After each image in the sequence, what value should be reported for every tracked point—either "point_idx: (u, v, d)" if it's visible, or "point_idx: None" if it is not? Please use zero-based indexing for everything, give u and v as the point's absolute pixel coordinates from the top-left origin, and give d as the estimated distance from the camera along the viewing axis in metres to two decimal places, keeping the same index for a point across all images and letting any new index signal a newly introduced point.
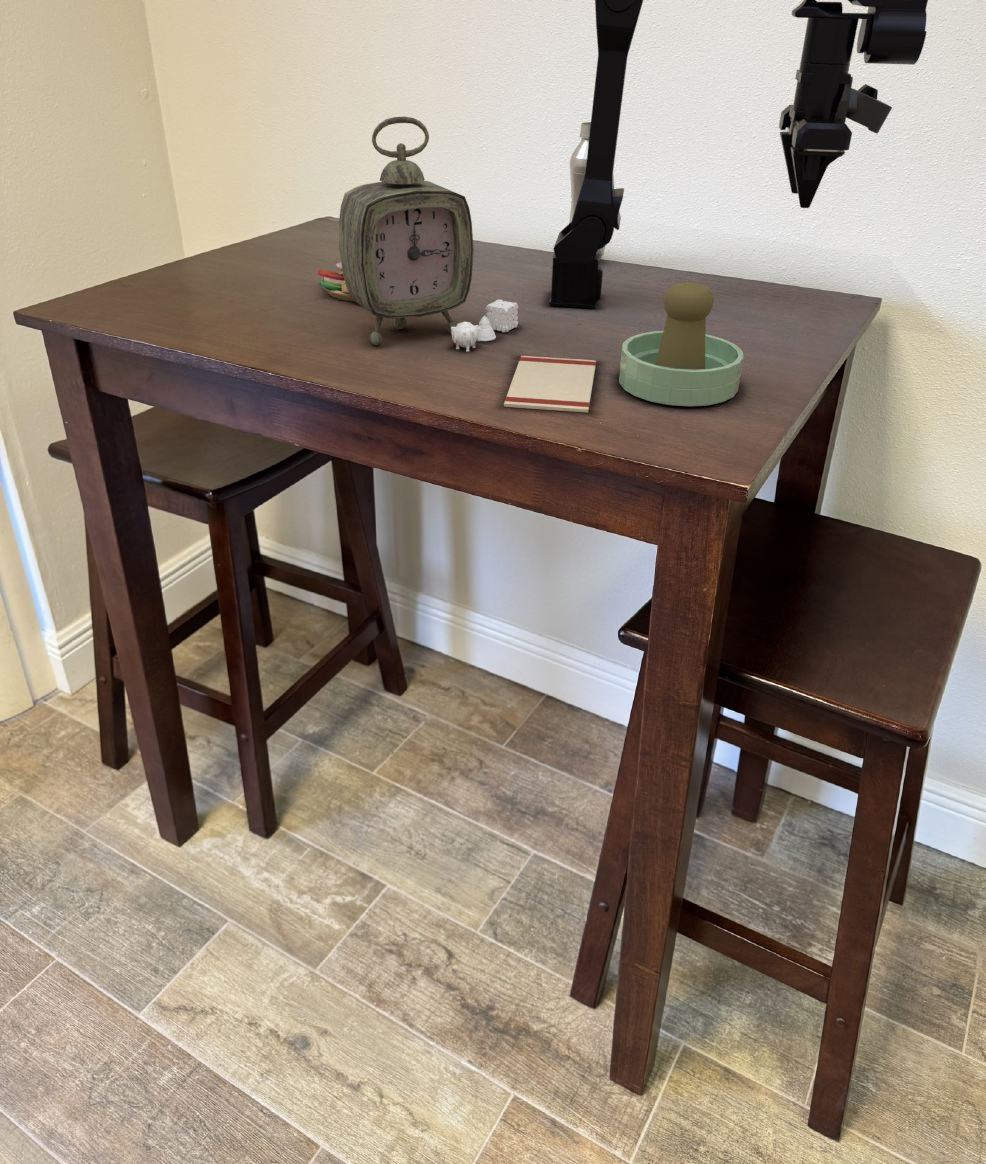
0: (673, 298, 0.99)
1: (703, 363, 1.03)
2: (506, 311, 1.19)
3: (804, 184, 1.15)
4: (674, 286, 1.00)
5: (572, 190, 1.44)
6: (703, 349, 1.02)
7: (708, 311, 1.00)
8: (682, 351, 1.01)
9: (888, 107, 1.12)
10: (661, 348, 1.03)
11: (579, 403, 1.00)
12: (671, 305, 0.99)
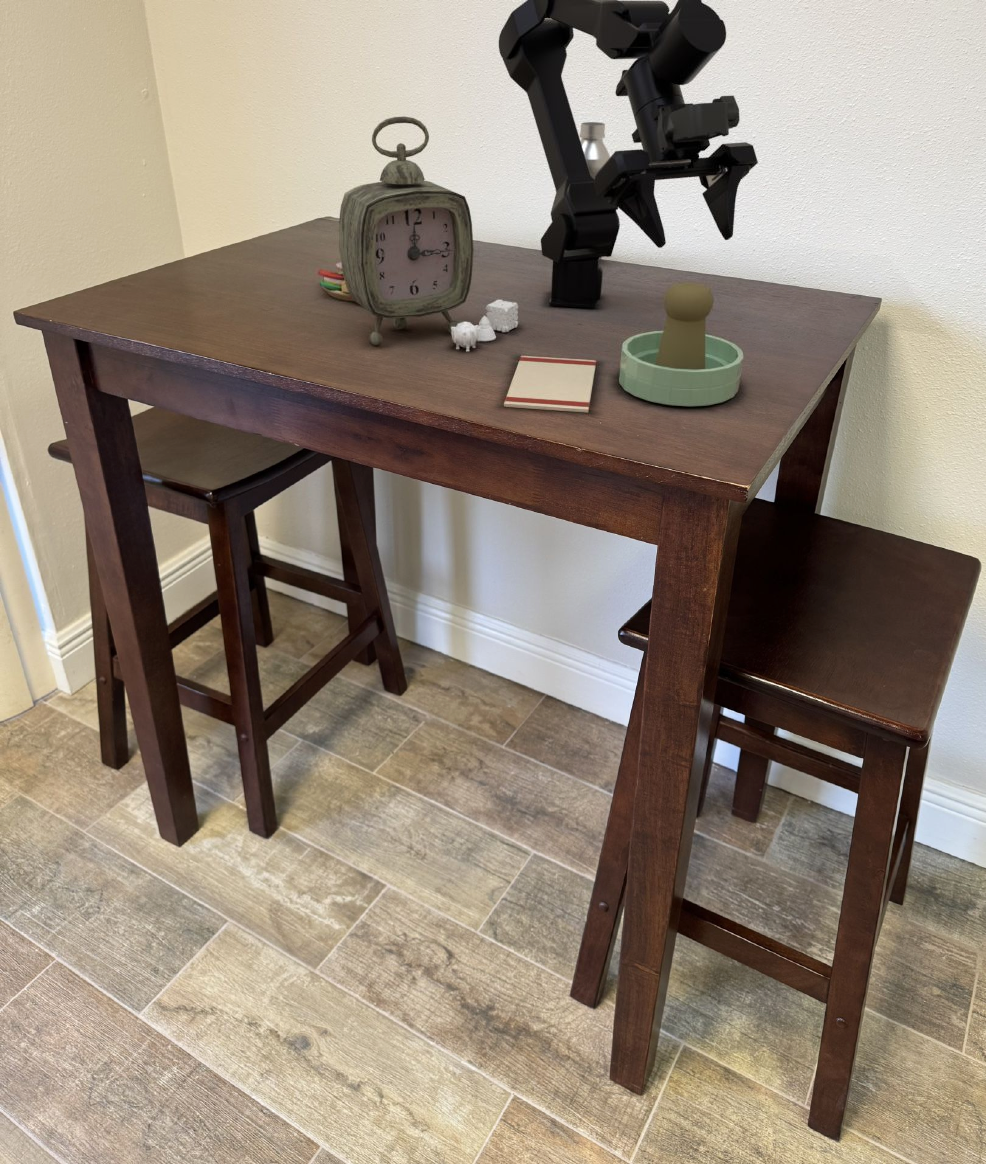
0: (673, 298, 0.99)
1: (703, 363, 1.03)
2: (506, 311, 1.19)
3: (646, 225, 1.04)
4: (674, 286, 1.00)
5: None
6: (703, 349, 1.02)
7: (708, 311, 1.00)
8: (682, 351, 1.01)
9: (691, 106, 0.98)
10: (661, 348, 1.03)
11: (579, 403, 1.00)
12: (671, 305, 0.99)
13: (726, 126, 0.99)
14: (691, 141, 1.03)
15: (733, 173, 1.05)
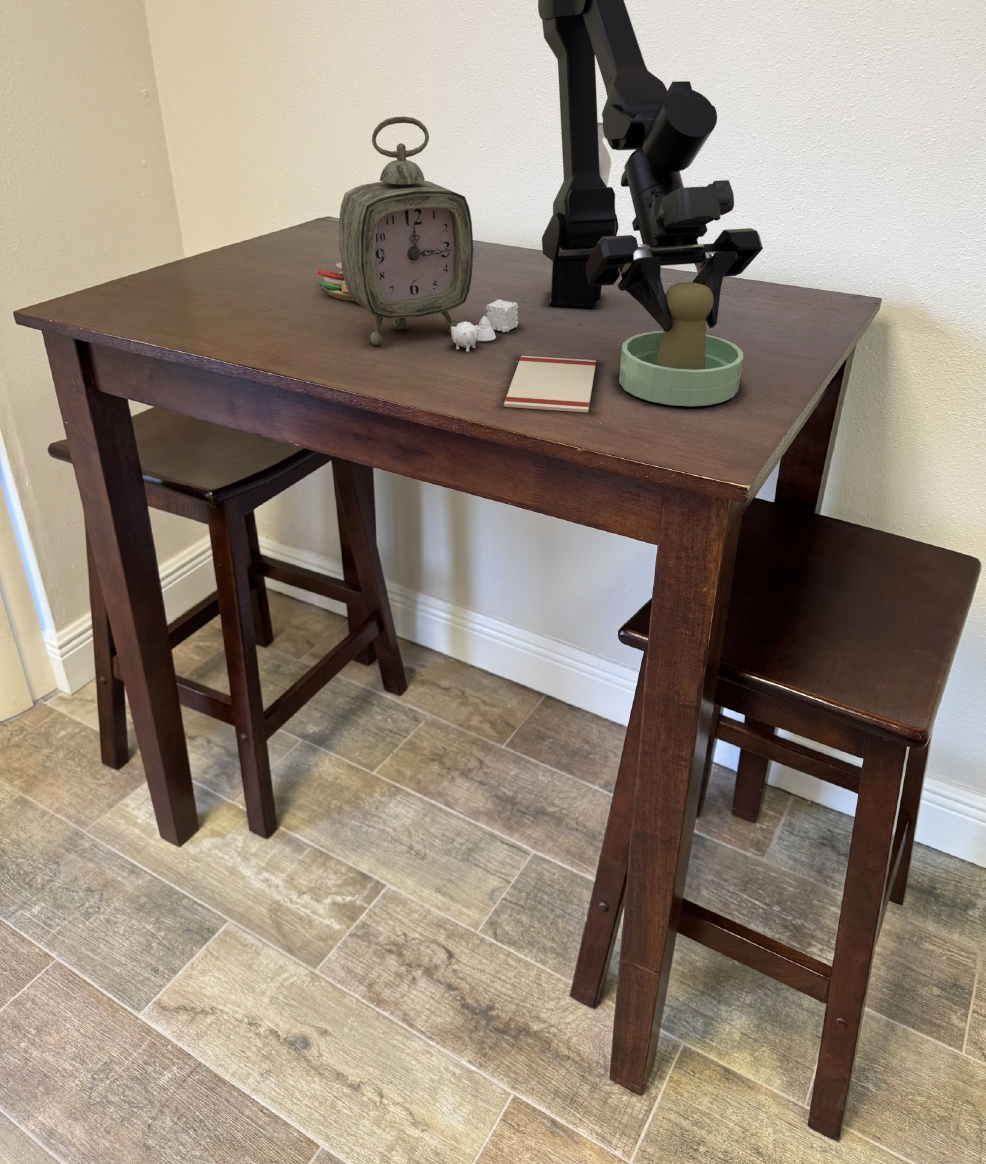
0: (674, 298, 0.99)
1: (703, 363, 1.03)
2: (506, 311, 1.19)
3: (653, 309, 1.01)
4: (674, 286, 1.00)
5: None
6: (703, 349, 1.02)
7: (708, 311, 1.00)
8: (682, 351, 1.01)
9: (677, 190, 0.95)
10: (661, 348, 1.03)
11: (579, 403, 1.00)
12: (671, 305, 0.99)
13: (716, 210, 0.96)
14: (686, 227, 1.00)
15: (717, 260, 1.00)
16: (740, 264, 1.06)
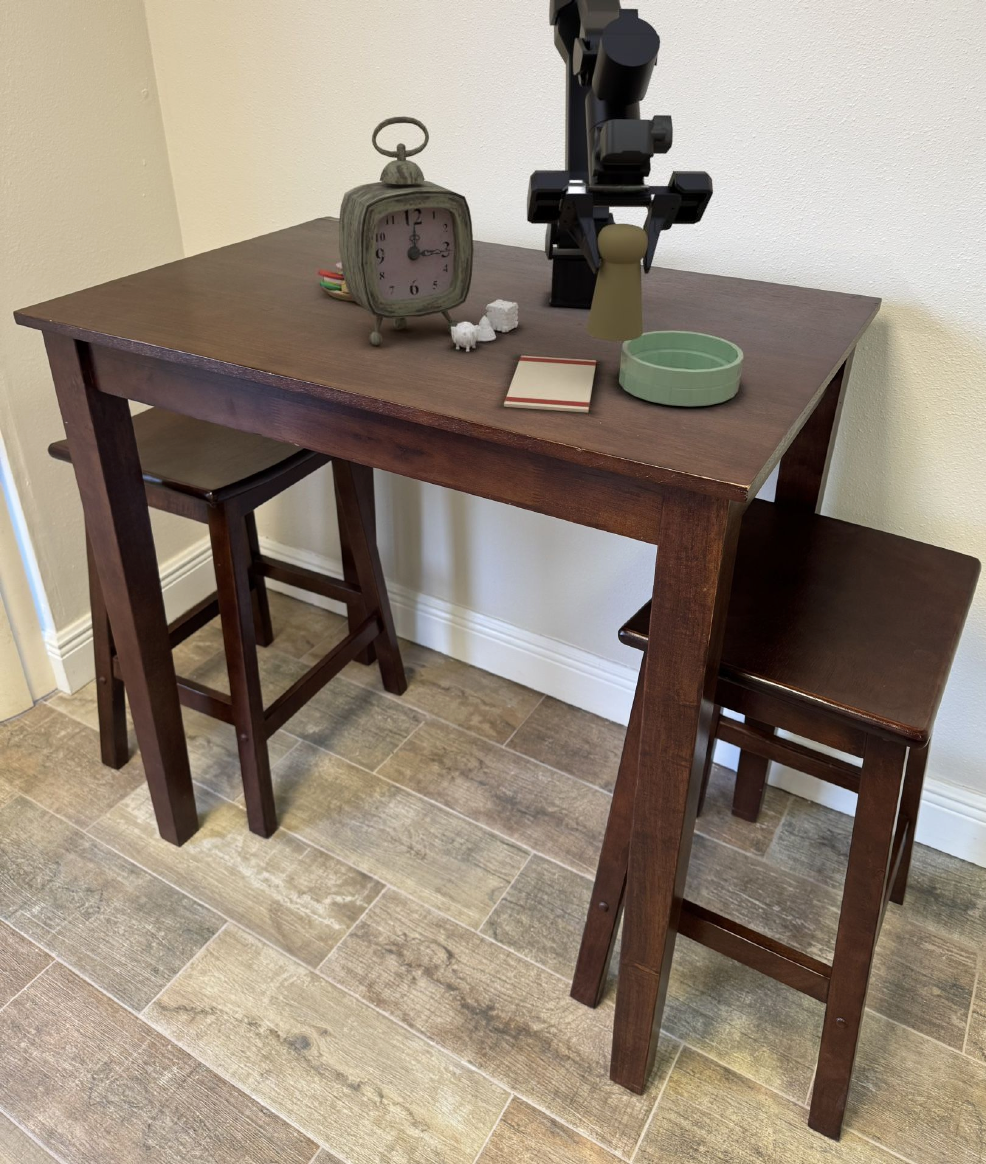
0: (602, 237, 0.95)
1: (636, 311, 0.98)
2: (506, 311, 1.19)
3: (586, 250, 0.97)
4: (607, 226, 0.96)
5: None
6: (636, 295, 0.97)
7: (638, 254, 0.95)
8: (610, 296, 0.97)
9: (606, 122, 0.91)
10: (594, 292, 0.99)
11: (579, 403, 1.00)
12: (600, 246, 0.95)
13: (648, 145, 0.91)
14: (627, 165, 0.95)
15: (657, 201, 0.95)
16: (697, 211, 1.00)
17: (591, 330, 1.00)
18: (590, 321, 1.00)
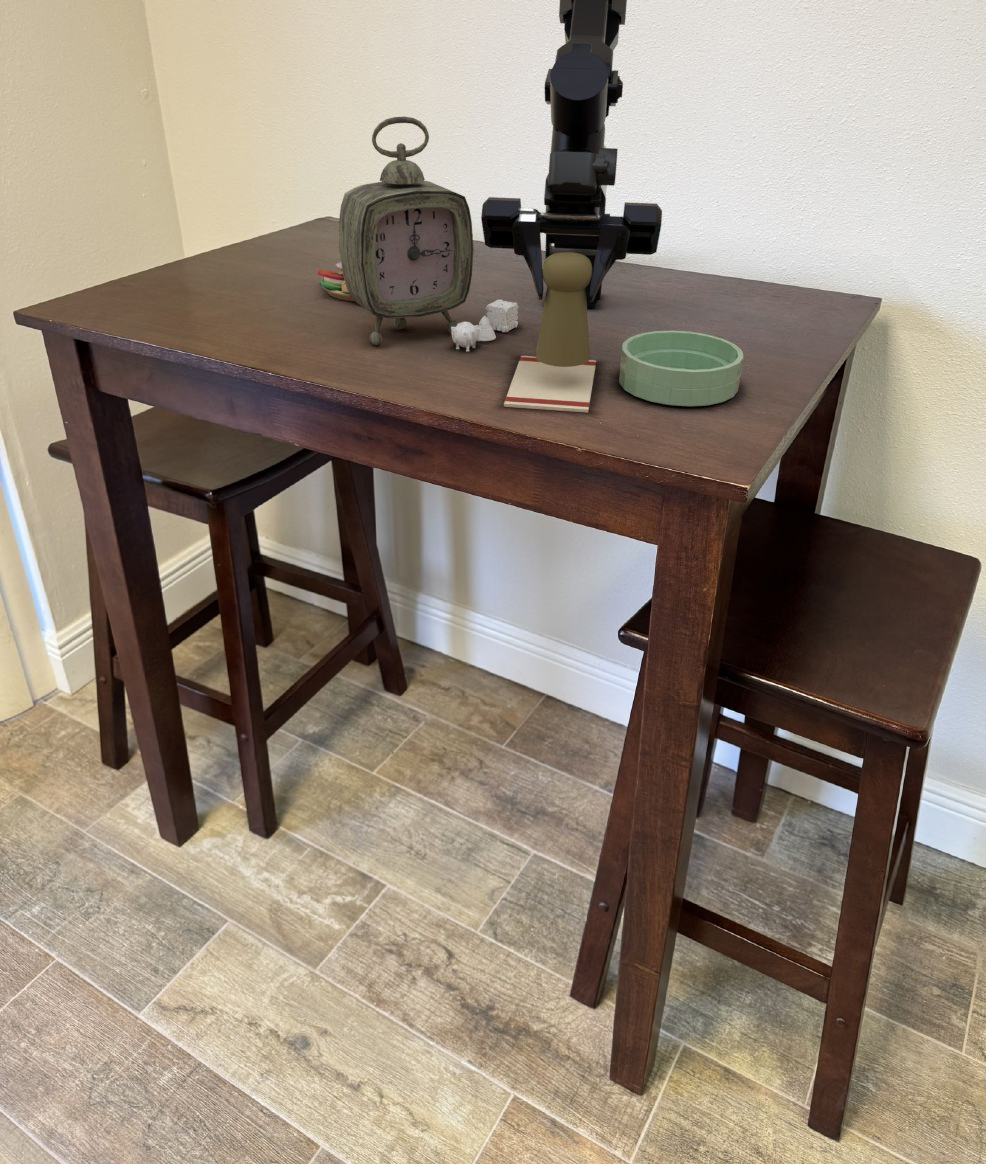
0: (545, 265, 0.97)
1: (579, 338, 1.00)
2: (506, 311, 1.19)
3: None
4: (553, 254, 0.98)
5: None
6: (578, 323, 0.99)
7: (579, 283, 0.96)
8: (553, 322, 0.99)
9: (550, 154, 0.93)
10: None
11: (579, 403, 1.00)
12: (543, 273, 0.97)
13: (588, 177, 0.92)
14: (577, 195, 0.97)
15: (604, 232, 0.97)
16: None
17: (537, 354, 1.02)
18: (537, 345, 1.02)
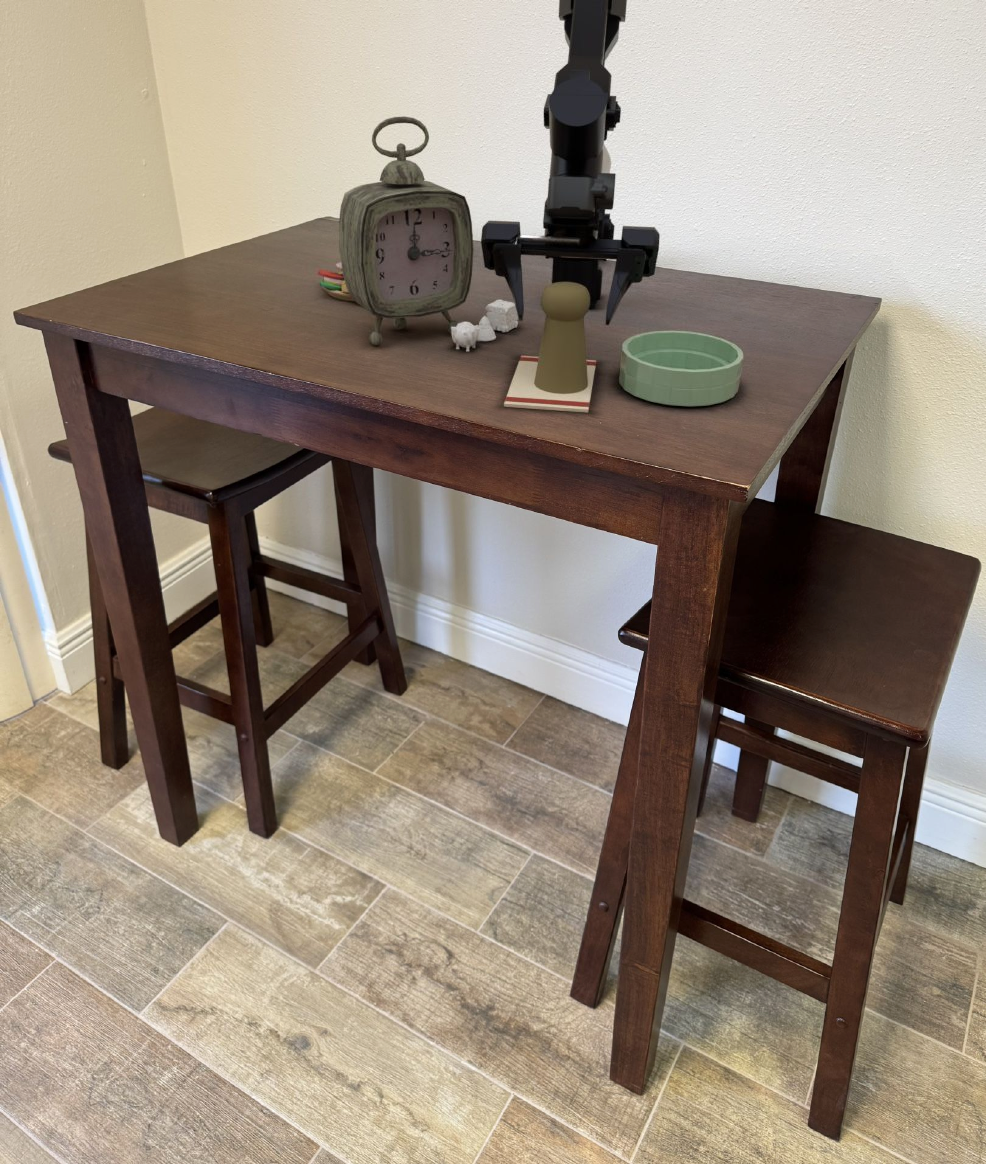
0: (544, 295, 0.99)
1: (577, 366, 1.02)
2: (506, 311, 1.19)
3: None
4: (551, 284, 1.00)
5: None
6: (577, 351, 1.01)
7: (577, 312, 0.98)
8: (551, 350, 1.01)
9: (549, 179, 0.94)
10: None
11: (579, 403, 1.00)
12: (542, 302, 0.99)
13: (587, 202, 0.93)
14: (576, 218, 0.98)
15: (621, 256, 0.98)
16: None
17: (536, 381, 1.04)
18: (536, 372, 1.04)
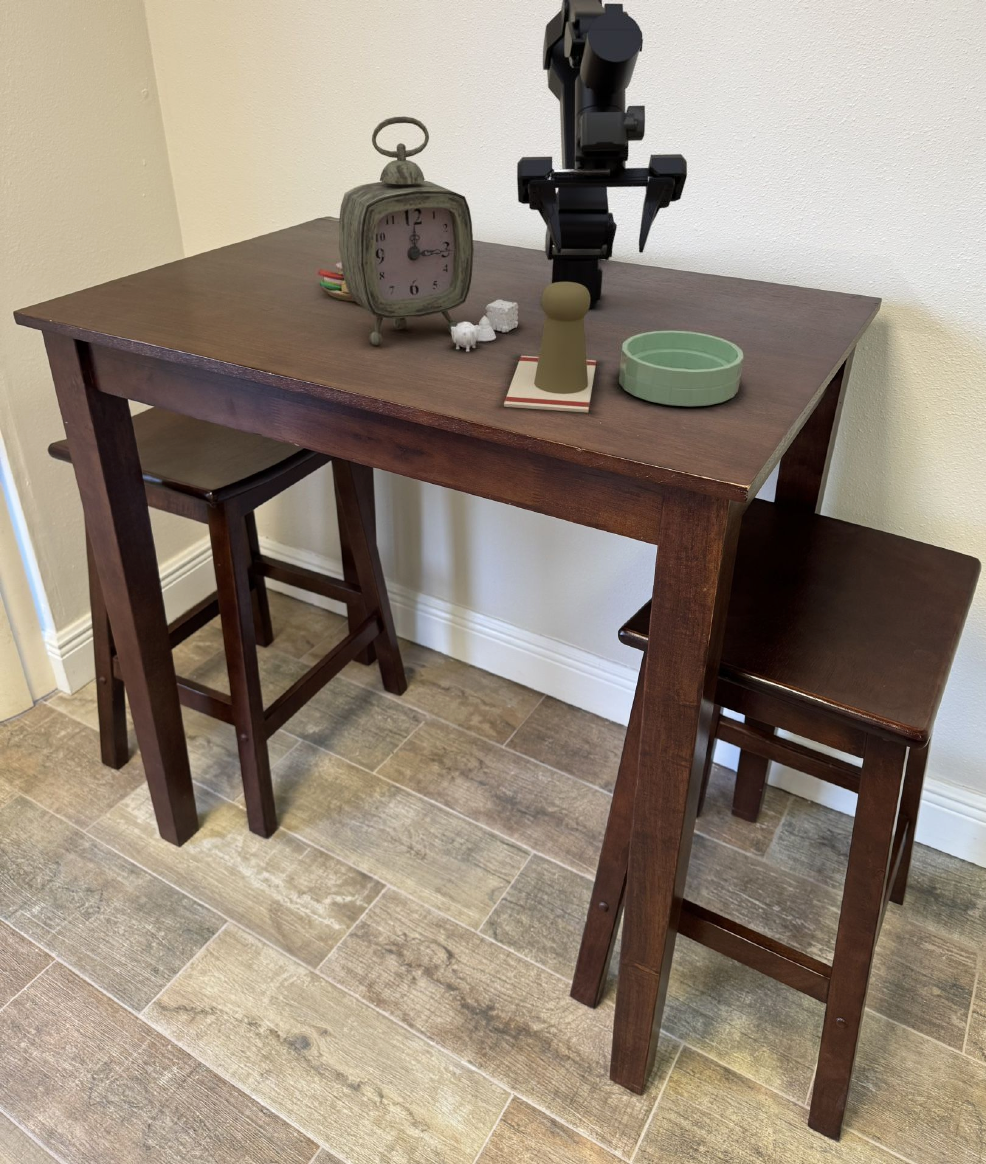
0: (544, 295, 0.99)
1: (577, 365, 1.02)
2: (506, 311, 1.19)
3: (551, 231, 1.07)
4: (551, 284, 1.00)
5: None
6: (577, 351, 1.01)
7: (577, 312, 0.98)
8: (551, 350, 1.01)
9: (582, 115, 0.99)
10: None
11: (579, 403, 1.00)
12: (542, 302, 0.99)
13: (620, 136, 0.98)
14: (606, 150, 1.03)
15: (651, 185, 1.03)
16: None
17: (536, 381, 1.04)
18: (536, 372, 1.04)
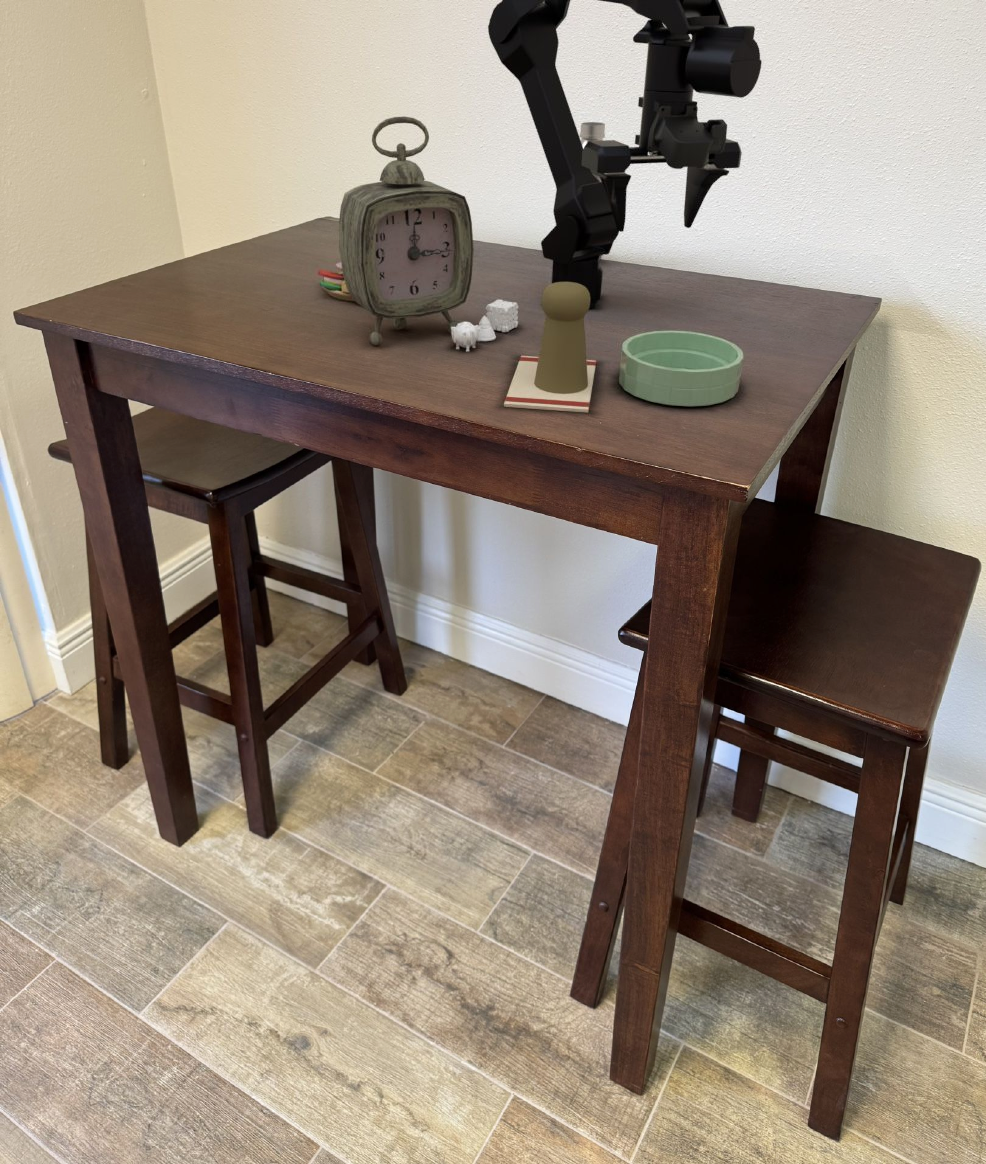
0: (544, 295, 0.99)
1: (577, 365, 1.02)
2: (506, 311, 1.19)
3: (613, 206, 1.16)
4: (551, 284, 1.00)
5: None
6: (577, 351, 1.01)
7: (577, 312, 0.98)
8: (551, 350, 1.01)
9: (675, 141, 1.05)
10: None
11: (579, 403, 1.00)
12: (542, 302, 0.99)
13: (704, 161, 1.07)
14: None
15: (710, 177, 1.14)
16: None
17: (536, 381, 1.04)
18: (536, 372, 1.04)
